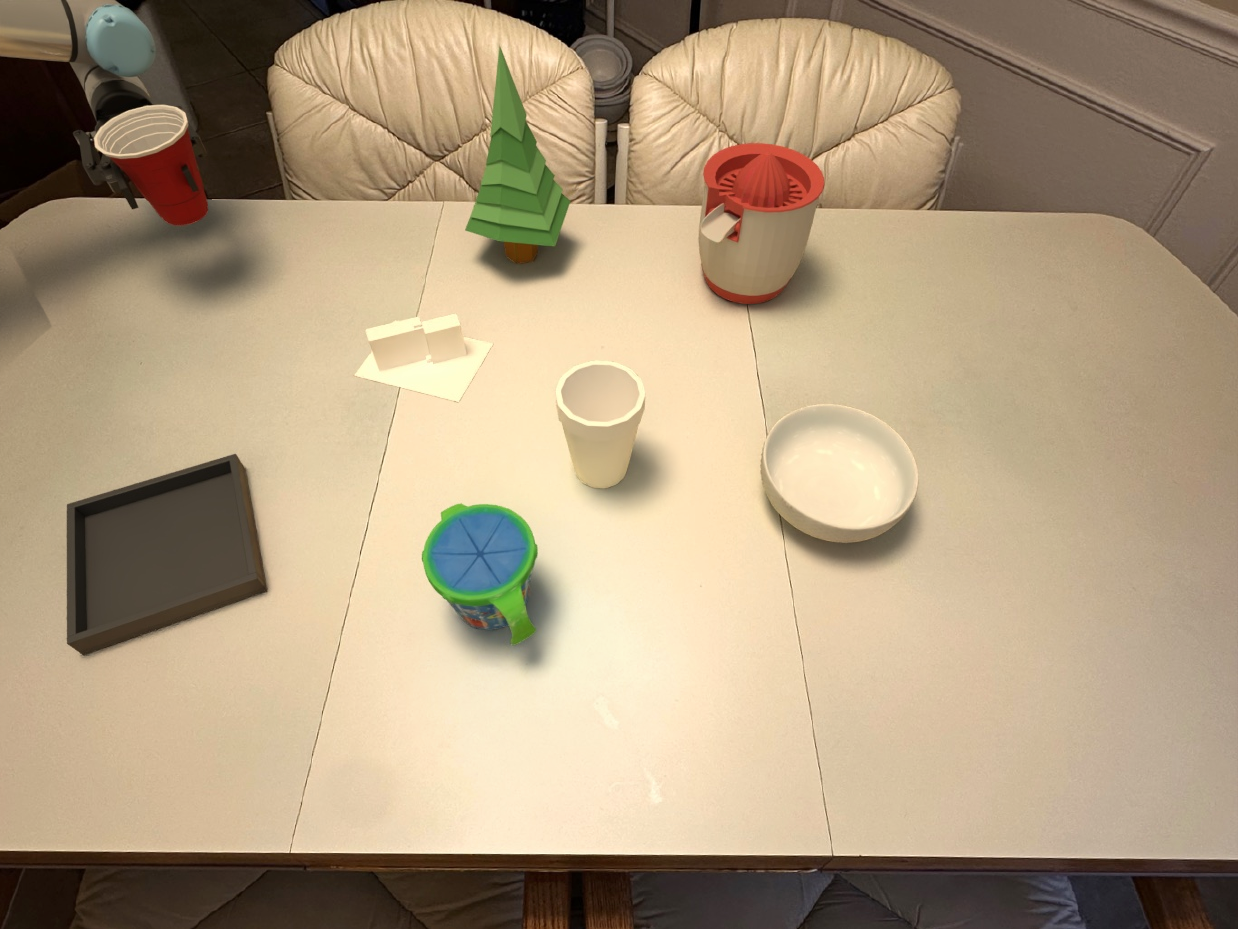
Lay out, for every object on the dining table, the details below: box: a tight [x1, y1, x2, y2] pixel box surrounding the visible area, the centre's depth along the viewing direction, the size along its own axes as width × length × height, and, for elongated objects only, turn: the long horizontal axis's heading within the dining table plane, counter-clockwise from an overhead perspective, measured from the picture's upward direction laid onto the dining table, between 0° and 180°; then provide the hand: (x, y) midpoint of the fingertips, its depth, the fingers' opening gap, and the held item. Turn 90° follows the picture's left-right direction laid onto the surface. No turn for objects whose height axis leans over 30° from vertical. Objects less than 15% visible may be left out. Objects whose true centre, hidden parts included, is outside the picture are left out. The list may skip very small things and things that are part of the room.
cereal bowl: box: [759, 403, 920, 544], centre depth 83 cm, size 17×17×7 cm
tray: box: [66, 453, 268, 656], centre depth 79 cm, size 18×18×3 cm
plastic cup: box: [94, 104, 209, 226], centre depth 93 cm, size 11×11×12 cm
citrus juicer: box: [697, 142, 825, 305], centre depth 101 cm, size 16×17×20 cm
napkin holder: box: [354, 313, 494, 403], centre depth 96 cm, size 15×11×6 cm
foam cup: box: [554, 360, 646, 489], centre depth 83 cm, size 10×9×13 cm
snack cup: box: [421, 502, 539, 646], centre depth 73 cm, size 16×10×10 cm
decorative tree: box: [464, 45, 571, 265], centre depth 100 cm, size 14×16×30 cm
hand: (160, 189), depth 90 cm, fingers closed on plastic cup, 6 cm apart
